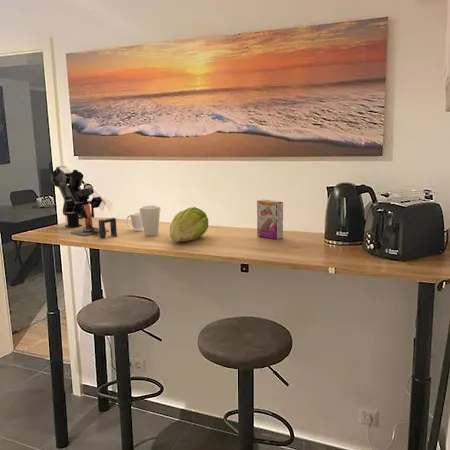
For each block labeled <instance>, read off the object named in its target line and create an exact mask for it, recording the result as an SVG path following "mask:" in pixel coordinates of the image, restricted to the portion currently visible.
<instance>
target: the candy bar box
mask: <svg viewBox="0 0 450 450" xmlns="http://www.w3.org/2000/svg"><path fill="white" fill-rule="evenodd" d="M256 209H257V210H256V215H257V217H256V218H257V220H256V221H257V224H256V225H257V227H256V228H257V233H256V234H257V235H256V236H257V237H261V238H266V239H270V240H275V241H278V240H281V239H283V238H284V202H283V201H280V200H271V199H265V198H263V199H259V200H258V199H257V200H256Z"/></svg>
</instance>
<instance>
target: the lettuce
mask: <svg viewBox="0 0 450 450" xmlns="http://www.w3.org/2000/svg"><path fill="white" fill-rule="evenodd" d="M208 228H209V218H208V215H207V213H206V212H205V211H204V210H202V209H200V208H198V207H195V206H193V207H188V208H186V209H184V210H182V211H179V212H178V213H177V214H176V215H175V216H174V217H173V219H172V220H171V223H170V225H169V237H170V239H171V241H173V242H189V241H195V240H197V239H199V238H201V236H203V235H204V234H205V233H206V232H207V230H208Z"/></svg>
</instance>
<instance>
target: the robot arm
mask: <svg viewBox="0 0 450 450" xmlns="http://www.w3.org/2000/svg"><path fill="white" fill-rule="evenodd" d="M83 179H84V174H83V173H82V172H81V171H79V170H78V169H73V170H72V171H71V170H70V169H69V168H67V166H65V165H61V166H59V165H58V166H56V167H55V169H54V170H53V171H52V172H51V174H50V181H51V183H52V184H53V186H54V187H56V188H58V190H59V191H60V193H61V197H62V198H63V200H64V201H63V206H62V210H61V211H62V215H63V216H66V223H67V224H64V226H65V227H66V228H74V227H76V228H77V227H81V226H83V224H81V223H80V219H79V218H80V217H79V216H81V217H83V218H84V220H85V219H87V215H86V213H85V212H84V204H91V210H92V219H94V218H95V210H94V209H96V208H99V207H100V206H101V204H102V203H103V199H102V197H101V196H93V197H92V198H91V200H90V196H91V195H93V194H94V193H95V190H94V188H93V187H92V186H90V187H87V188H81V186H82V185H83Z"/></svg>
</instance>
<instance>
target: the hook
mask: <svg viewBox="0 0 450 450" xmlns="http://www.w3.org/2000/svg"><path fill="white" fill-rule="evenodd" d="M83 210H84V212H85V213H86V215H87V219H85V218H84V224H85V227H83V228H82V230H83V232H94V233H97V234H98V235H100V234H99V227H97V228H95V227H94V225H93V217H92V210H91V204H84V206H83ZM106 230H107V229H106V226H105V235H107V232H106Z"/></svg>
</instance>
